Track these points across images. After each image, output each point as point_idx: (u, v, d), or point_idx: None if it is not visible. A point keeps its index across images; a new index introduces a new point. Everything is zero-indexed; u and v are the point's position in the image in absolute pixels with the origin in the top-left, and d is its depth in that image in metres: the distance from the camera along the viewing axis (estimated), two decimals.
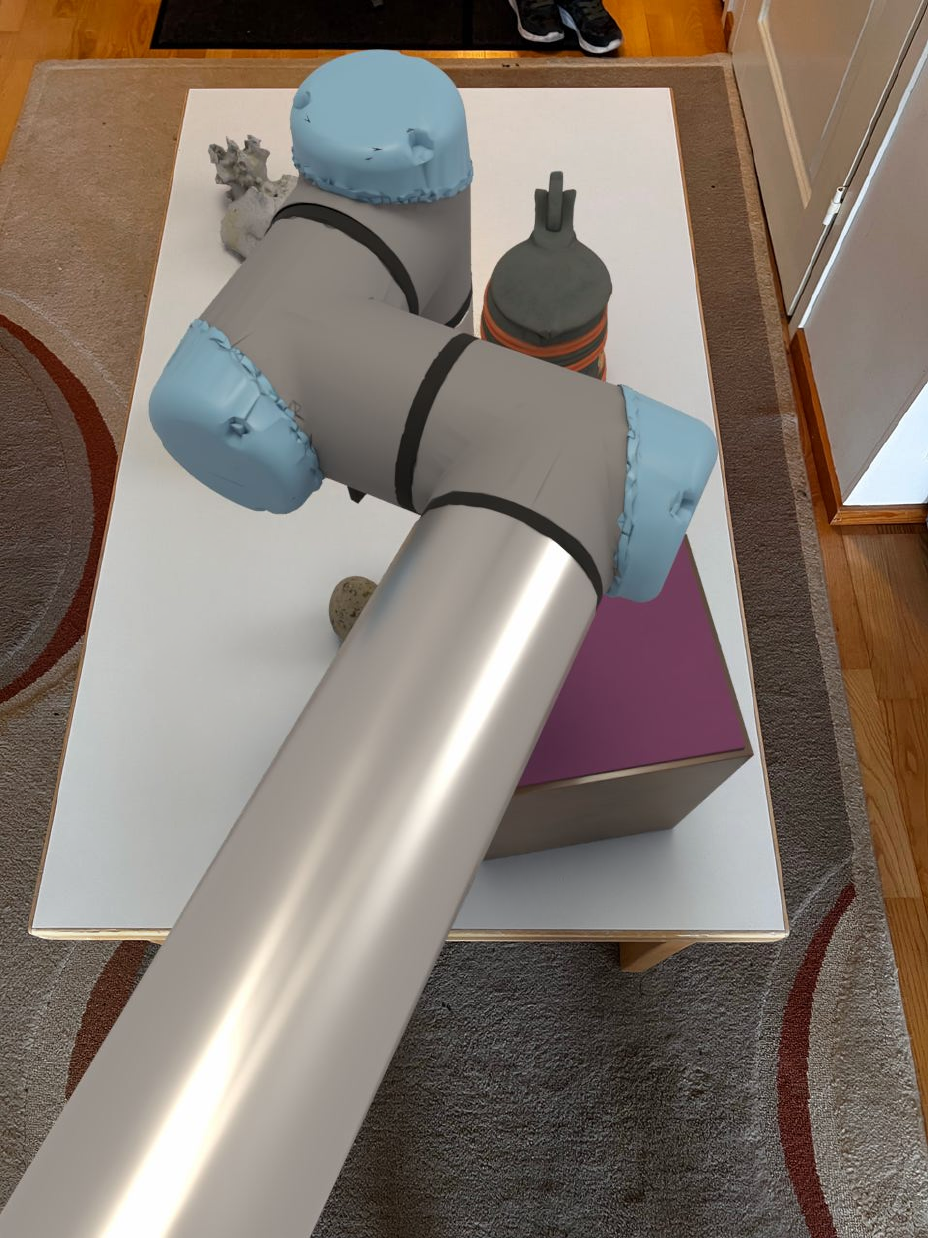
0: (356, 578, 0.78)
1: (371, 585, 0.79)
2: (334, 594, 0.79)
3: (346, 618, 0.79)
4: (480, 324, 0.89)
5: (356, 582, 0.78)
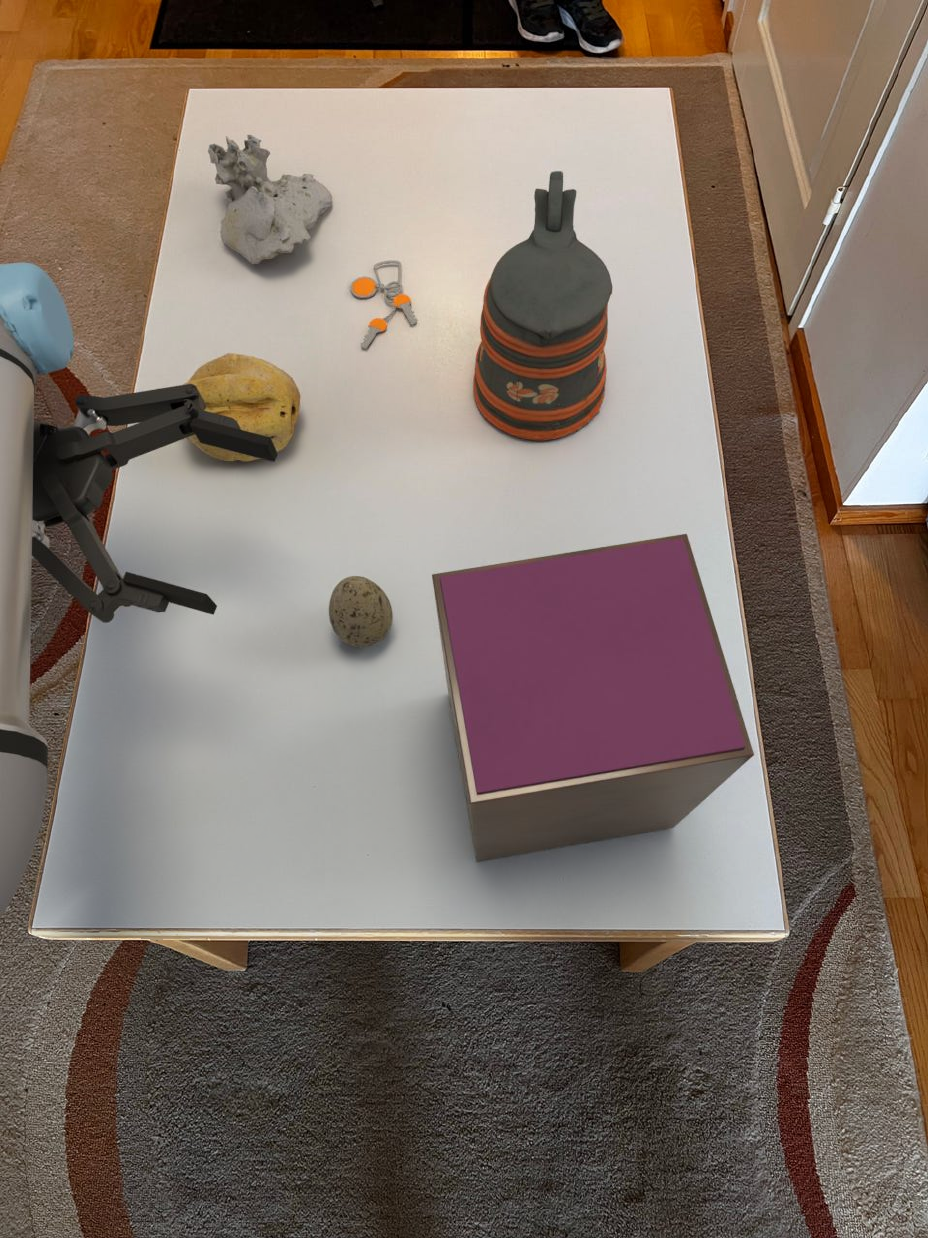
0: (356, 578, 0.78)
1: (371, 585, 0.79)
2: (334, 594, 0.79)
3: (346, 618, 0.79)
4: (480, 324, 0.89)
5: (356, 582, 0.78)
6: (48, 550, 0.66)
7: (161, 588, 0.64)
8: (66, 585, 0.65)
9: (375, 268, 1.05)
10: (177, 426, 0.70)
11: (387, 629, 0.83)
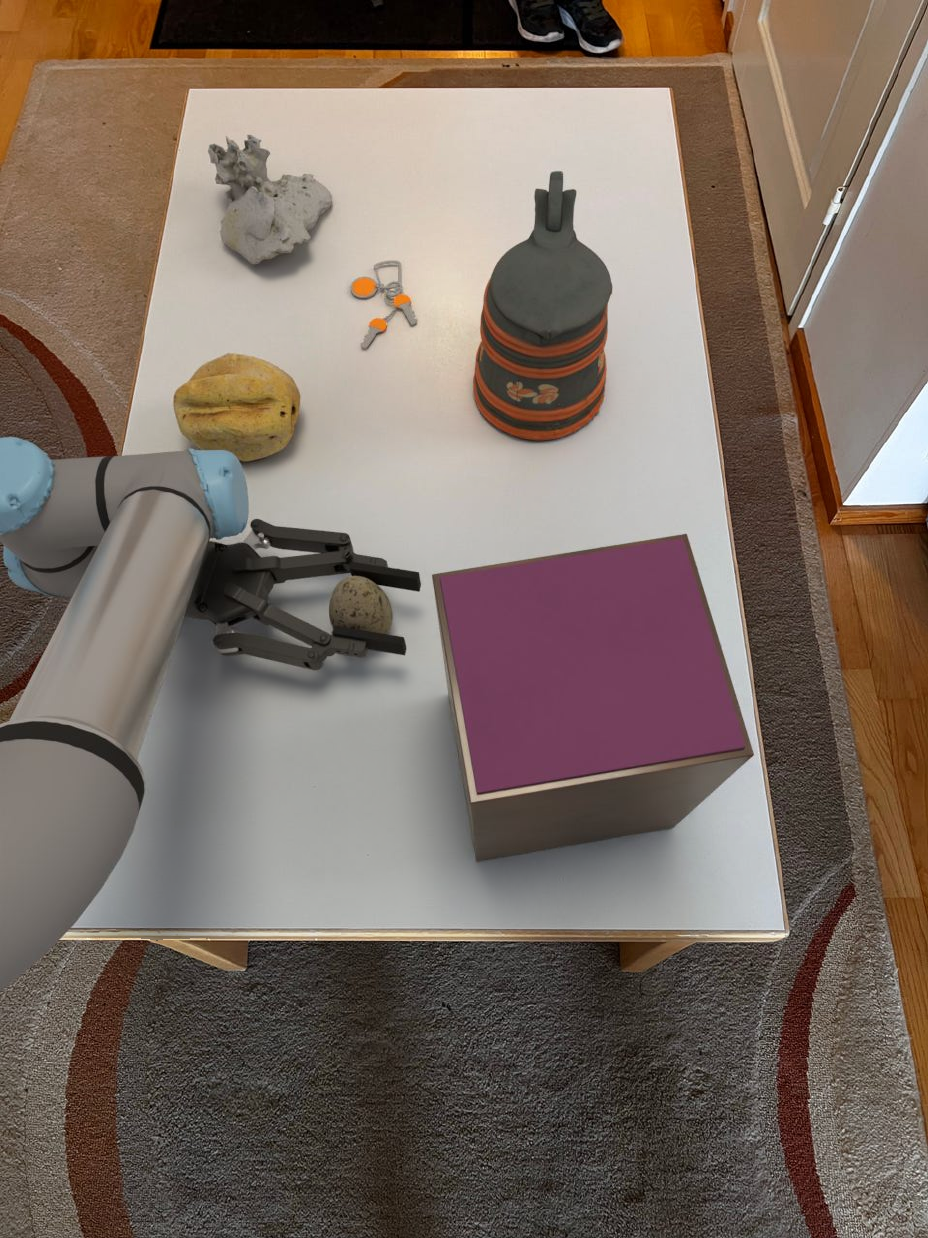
0: (356, 578, 0.78)
1: (371, 585, 0.79)
2: (334, 594, 0.79)
3: (346, 618, 0.79)
4: (480, 324, 0.89)
5: (356, 582, 0.78)
6: (251, 635, 0.79)
7: (365, 636, 0.78)
8: (281, 652, 0.78)
9: (375, 268, 1.05)
10: (332, 565, 0.82)
11: (387, 629, 0.83)
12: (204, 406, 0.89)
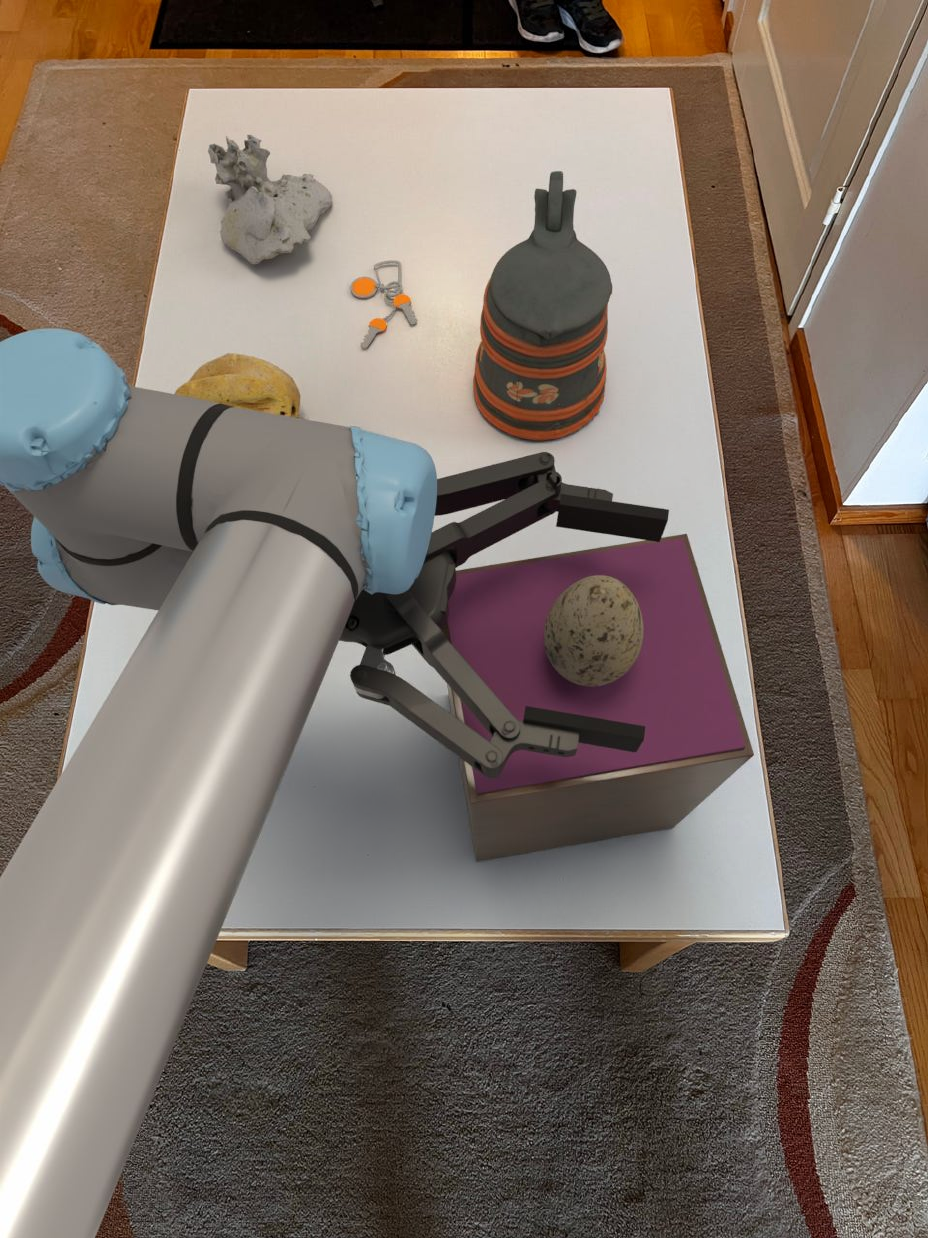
0: (608, 579, 0.48)
1: (628, 590, 0.49)
2: (570, 605, 0.49)
3: (589, 643, 0.49)
4: (480, 324, 0.89)
5: (610, 585, 0.48)
6: (410, 687, 0.48)
7: (580, 724, 0.47)
8: (447, 733, 0.47)
9: (375, 268, 1.05)
10: (536, 507, 0.53)
11: None
12: None
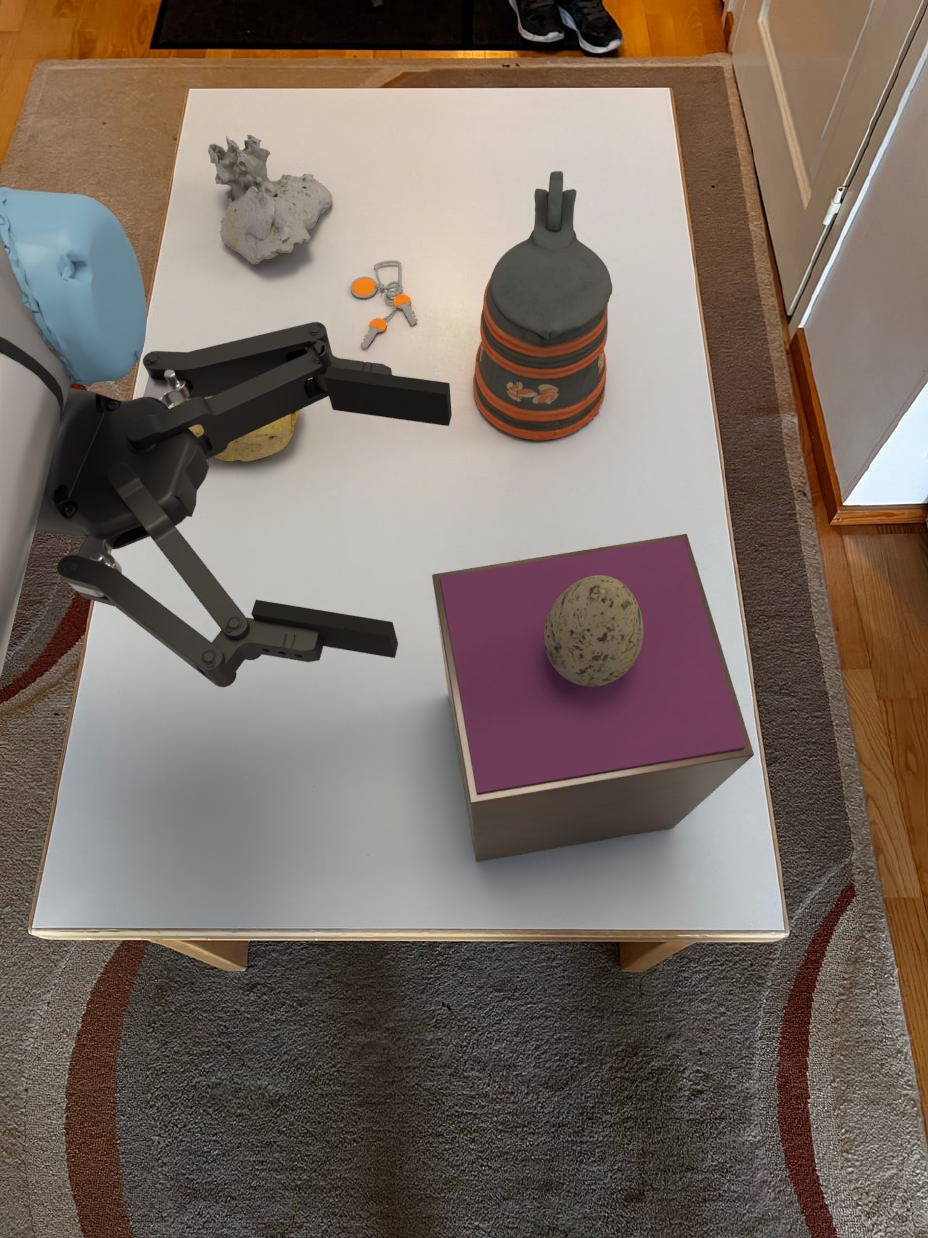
0: (608, 579, 0.48)
1: (628, 590, 0.49)
2: (570, 605, 0.49)
3: (589, 643, 0.49)
4: (480, 324, 0.89)
5: (610, 585, 0.48)
6: (125, 579, 0.41)
7: (317, 620, 0.40)
8: (161, 631, 0.40)
9: (375, 268, 1.05)
10: (302, 383, 0.46)
11: None
12: None
